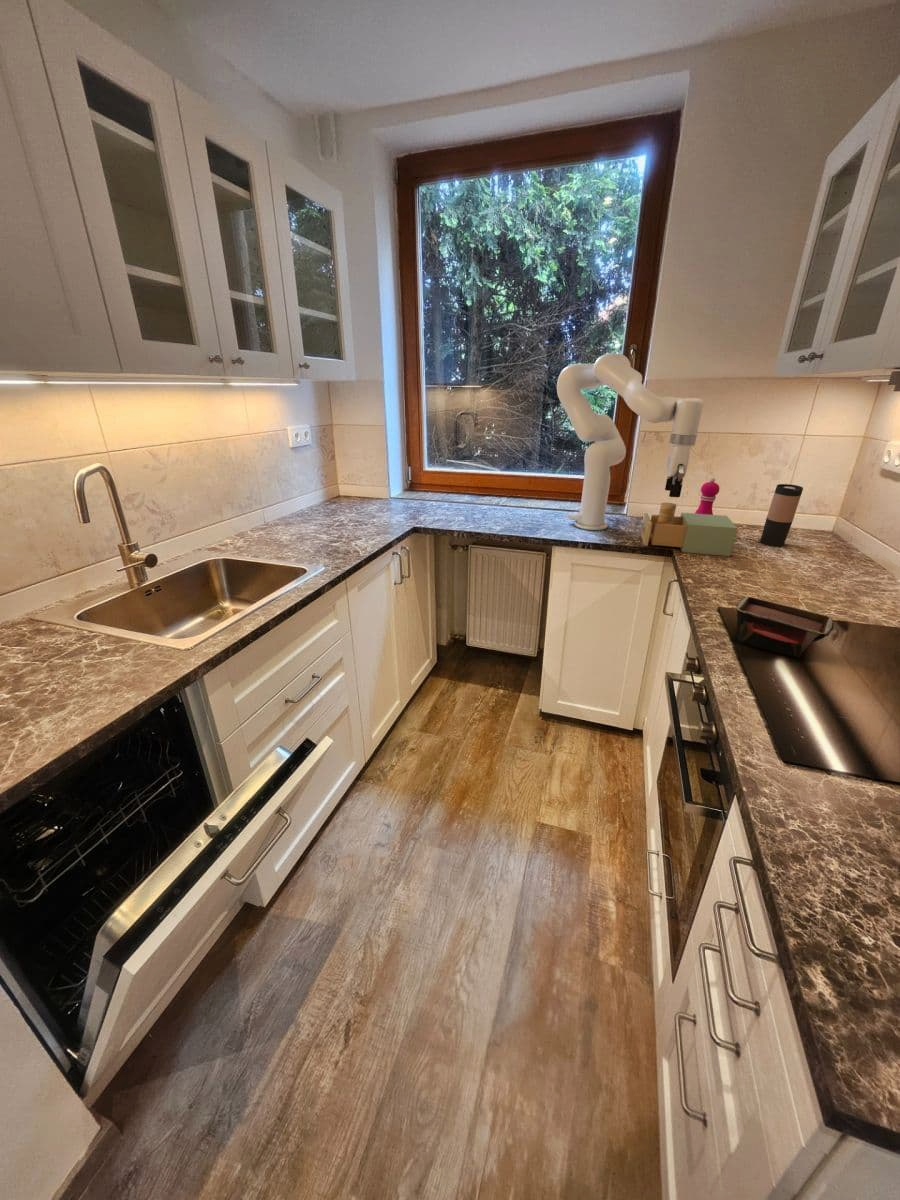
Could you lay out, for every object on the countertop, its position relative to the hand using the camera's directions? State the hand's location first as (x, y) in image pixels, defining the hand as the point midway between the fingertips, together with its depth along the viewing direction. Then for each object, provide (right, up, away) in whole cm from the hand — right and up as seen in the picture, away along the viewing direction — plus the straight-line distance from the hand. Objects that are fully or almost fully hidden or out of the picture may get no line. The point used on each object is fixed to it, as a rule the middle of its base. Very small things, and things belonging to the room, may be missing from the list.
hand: (672, 493), depth 158 cm
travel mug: (+39, -16, +9) cm, 43 cm away
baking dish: (-1, -45, -51) cm, 68 cm away
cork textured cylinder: (0, -14, +7) cm, 16 cm away
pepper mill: (+20, -10, +21) cm, 31 cm away
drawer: (-2, -15, +8) cm, 17 cm away
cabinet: (+12, -17, +5) cm, 22 cm away
